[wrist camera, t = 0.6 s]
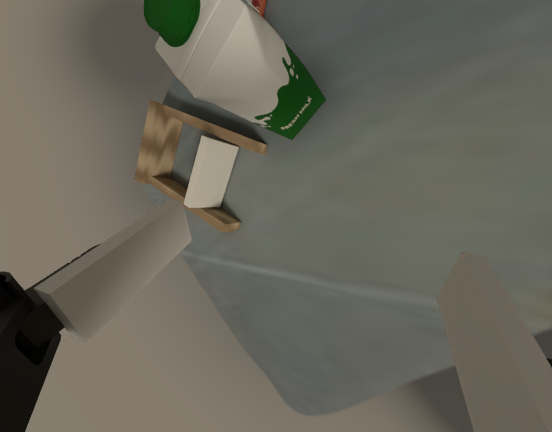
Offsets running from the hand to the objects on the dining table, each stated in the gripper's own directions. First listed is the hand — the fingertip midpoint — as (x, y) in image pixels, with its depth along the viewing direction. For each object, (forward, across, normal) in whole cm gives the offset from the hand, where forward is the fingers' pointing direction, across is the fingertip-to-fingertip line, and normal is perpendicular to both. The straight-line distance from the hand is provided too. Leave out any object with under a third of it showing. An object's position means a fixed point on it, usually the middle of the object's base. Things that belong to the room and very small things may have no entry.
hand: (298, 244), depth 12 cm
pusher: (+25, -19, -9) cm, 33 cm away
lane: (+27, -23, -8) cm, 36 cm away
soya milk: (+28, -8, +2) cm, 29 cm away
